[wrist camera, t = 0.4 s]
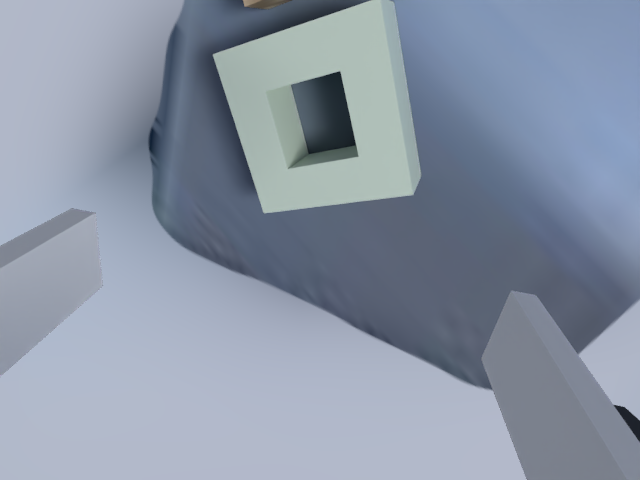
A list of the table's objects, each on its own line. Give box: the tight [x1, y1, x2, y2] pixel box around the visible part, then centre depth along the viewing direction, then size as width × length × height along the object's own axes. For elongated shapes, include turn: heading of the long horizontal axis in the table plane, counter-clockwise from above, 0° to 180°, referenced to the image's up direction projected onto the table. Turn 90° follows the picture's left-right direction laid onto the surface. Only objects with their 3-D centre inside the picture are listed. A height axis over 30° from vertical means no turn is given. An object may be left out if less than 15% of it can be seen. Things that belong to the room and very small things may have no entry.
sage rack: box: [213, 0, 421, 213], centre depth 34 cm, size 14×14×5 cm
